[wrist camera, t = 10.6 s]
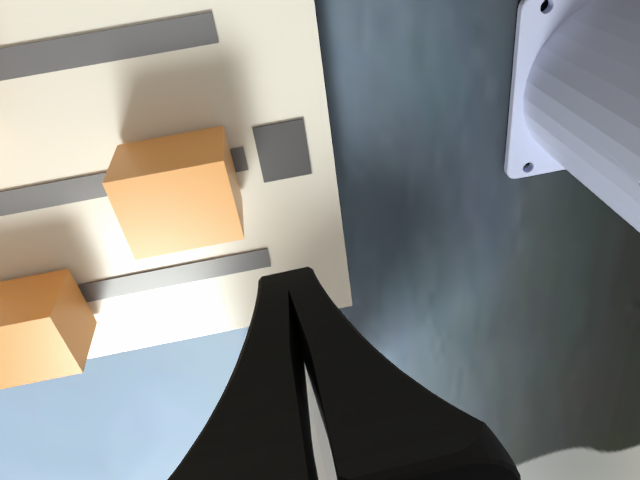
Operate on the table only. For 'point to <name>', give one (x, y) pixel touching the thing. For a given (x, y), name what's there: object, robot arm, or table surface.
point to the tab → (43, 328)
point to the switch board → (158, 121)
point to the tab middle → (176, 192)
